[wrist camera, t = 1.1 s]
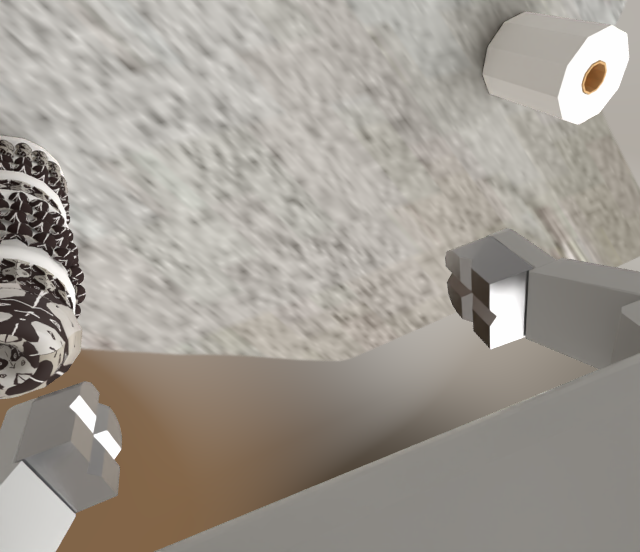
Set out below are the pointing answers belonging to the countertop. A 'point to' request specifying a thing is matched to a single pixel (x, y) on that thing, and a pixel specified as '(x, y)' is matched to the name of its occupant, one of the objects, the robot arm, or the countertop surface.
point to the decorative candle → (36, 270)
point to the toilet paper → (556, 64)
